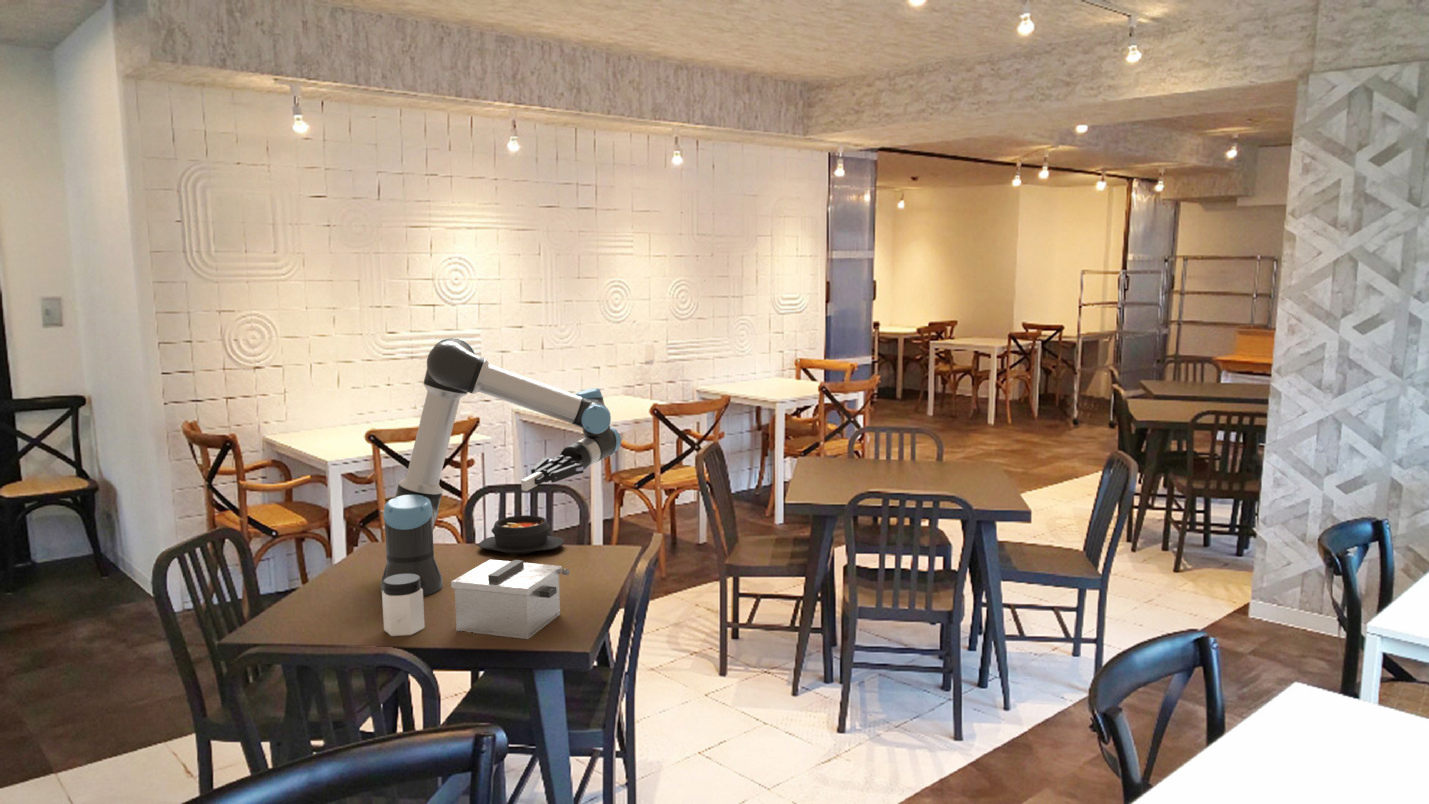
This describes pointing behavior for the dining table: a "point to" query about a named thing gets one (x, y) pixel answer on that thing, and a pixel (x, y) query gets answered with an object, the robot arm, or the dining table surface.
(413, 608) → the jar
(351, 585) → the dining table surface
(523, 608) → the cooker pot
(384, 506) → the robot arm
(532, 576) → the lid
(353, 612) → the dining table surface
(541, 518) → the casserole
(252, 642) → the dining table surface
